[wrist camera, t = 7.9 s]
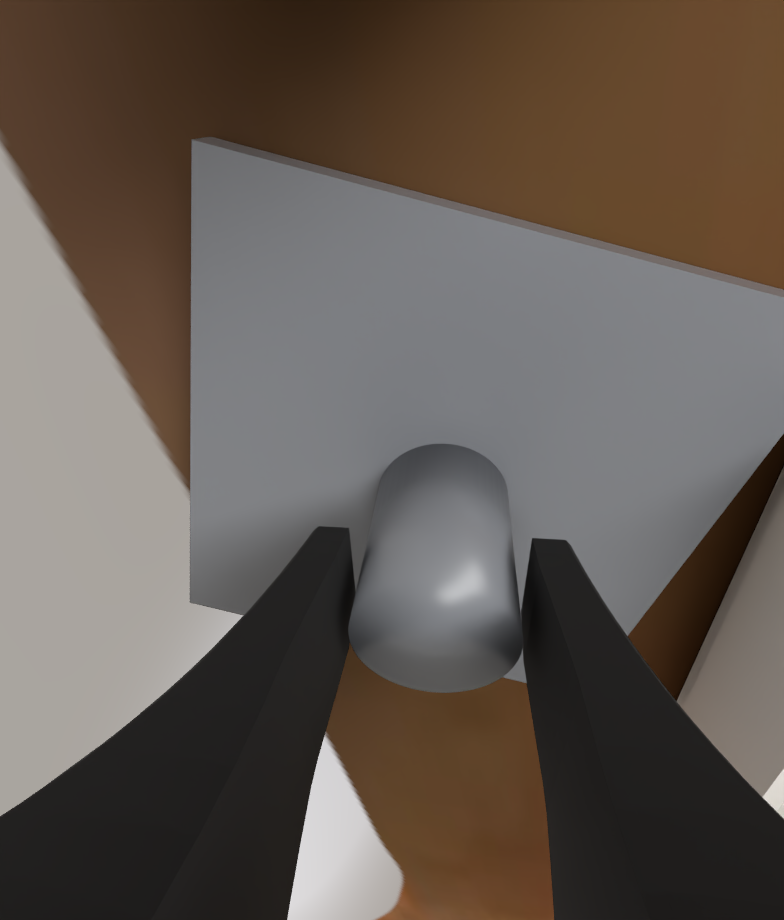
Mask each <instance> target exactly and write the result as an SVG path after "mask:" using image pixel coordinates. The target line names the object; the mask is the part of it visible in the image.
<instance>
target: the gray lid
mask: <svg viewBox="0 0 784 920" xmlns="http://www.w3.org/2000/svg"><path fill="white" fill-rule="evenodd" d="M783 434H784V290H783V289H779V288H775V287H771V286H768V285H764V284H760V283H756V282H753V281H749V280H745V279H741V278H738V277H734V276H730V275H726V274H723V273H719V272H715V271H711V270H708V269H704V268H700V267H697V266H693V265H689V264H685V263H682V262H678V261H674V260H670V259H667V258H663V257H659V256H655V255H652V254H648V253H644V252H640V251H637V250H633V249H629V248H625V247H622V246H618V245H614V244H610V243H607V242H603V241H599V240H595V239H592V238H588V237H584V236H581V235H577V234H573V233H569V232H566V231H562V230H558V229H554V228H551V227H547V226H543V225H539V224H536V223H532V222H528V221H524V220H521V219H517V218H513V217H509V216H506V215H502V214H498V213H494V212H491V211H487V210H483V209H479V208H476V207H472V206H468V205H465V204H461V203H457V202H453V201H450V200H446V199H442V198H438V197H435V196H431V195H427V194H423V193H420V192H416V191H412V190H408V189H405V188H401V187H397V186H393V185H390V184H386V183H382V182H378V181H375V180H371V179H367V178H364V177H360V176H356V175H352V174H349V173H345V172H341V171H337V170H334V169H330V168H326V167H322V166H319V165H315V164H311V163H307V162H304V161H300V160H296V159H292V158H289V157H285V156H281V155H277V154H274V153H270V152H266V151H262V150H259V149H255V148H251V147H248V146H244V145H240V144H236V143H233V142H229V141H225V140H221V139H218V138H214V137H205V138H199V139H192V177H191V435H190V602H191V603H195V604H199V605H203V606H207V607H211V608H215V609H219V610H224V611H228V612H232V613H236V614H240V615H245V614H246V613H247V611H248V610H249V609H250V608H251V607H252V606H253V605H254V604H255V602H256V601H257V600H258V599H259V598H260V597H261V595H262V594H263V593H264V592H265V591H266V590H267V588H268V587H269V586H270V585H271V584H272V583H273V581H274V580H275V579H276V578H277V577H278V575H279V574H280V573H281V572H282V571H283V569H284V568H285V567H286V566H287V564H288V563H289V562H290V561H291V559H292V558H293V557H294V556H295V554H296V553H297V552H298V550H299V549H300V548H301V546H302V545H303V544H304V543H305V541H306V540H307V539H308V537H309V536H310V535H311V533H312V532H313V531H314V530H315V529H316V528H317V527H318V526H325V527H343V528H349V532H350V542H351V552H352V561H353V571H354V581H355V590H356V593H355V598H354V602H353V607H352V611H351V616H350V620H349V626H348V635H349V640H350V643H351V646H352V648H353V650H354V651H355V653H356V655H357V656H358V657H359V659H360V660H361V661H362V662H363V663H364V664H365V665H366V666H367V667H368V668H370V669H371V670H372V671H374V672H375V673H376V674H378V675H380V676H381V677H383V678H385V679H387V680H389V681H391V682H393V683H396V684H399V685H401V686H404V687H408V688H412V689H416V690H421V691H428V692H441V693H448V692H461V691H468V690H473V689H477V688H480V687H483V686H486V685H488V684H491V683H493V682H495V681H496V680H498V679H500V678H502V677H503V678H508V679H512V680H516V681H520V682H524V683H527V681H526V675H525V668H524V661H523V632H522V622H521V608H522V602H523V595H524V588H525V582H526V575H527V568H528V562H529V555H530V549H531V542H532V538H542V539H560V540H566V541H567V542H568V543H569V544H570V545H571V546H572V548H573V550H574V552H575V554H576V556H577V558H578V559H579V561H580V563H581V565H582V566H583V568H584V570H585V572H586V573H587V575H588V577H589V578H590V580H591V582H592V583H593V585H594V586H595V588H596V590H597V591H598V593H599V594H600V596H601V598H602V599H603V601H604V602H605V604H606V605H607V607H608V609H609V610H610V612H611V613H612V615H613V616H614V617H615V619H616V620H617V622H618V623H619V625H620V626H621V628H622V629H623V631H624V632H625V634H626V635H627V636H628V635H629V634H630V632H631V631H632V630H633V628H634V627H635V626H636V624H637V623H638V622H639V621H640V619H641V618H642V617H643V615H644V614H645V613H646V611H647V610H648V609H649V608H650V606H651V605H652V604H653V602H654V601H655V600H656V599H657V597H658V596H659V595H660V593H661V592H662V591H663V589H664V588H665V587H666V586H667V584H668V583H669V582H670V580H671V579H672V578H673V576H674V575H675V574H676V573H677V571H678V570H679V569H680V567H681V566H682V565H683V563H684V562H685V561H686V560H687V558H688V557H689V556H690V554H691V553H692V552H693V551H694V549H695V548H696V547H697V545H698V544H699V543H700V541H701V540H702V539H703V538H704V536H705V535H706V534H707V532H708V531H709V530H710V528H711V527H712V526H713V525H714V523H715V522H716V521H717V519H718V518H719V517H720V515H721V514H722V513H723V512H724V510H725V509H726V508H727V506H728V505H729V504H730V503H731V501H732V500H733V499H734V497H735V496H736V495H737V493H738V492H739V491H740V490H741V488H742V487H743V486H744V484H745V483H746V482H747V480H748V479H749V478H750V477H751V475H752V474H753V473H754V471H755V470H756V469H757V468H758V466H759V465H760V464H761V462H762V461H763V460H764V458H765V457H766V456H767V455H768V453H769V452H770V451H771V449H772V448H773V447H774V445H775V444H776V443H777V442H778V440H779V439H780V438H781V436H782V435H783Z"/></svg>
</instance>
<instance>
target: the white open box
mask: <svg viewBox="0 0 784 920" xmlns="http://www.w3.org/2000/svg"><path fill="white" fill-rule="evenodd" d="M677 703H678V704H679V705H680V706H681V708H682V709H683V710H684V711H685V712H686V714H687V715H688V716H689V717H690V718H691V720H692V721H693V722H694V723H695V724H696V725H697V726H698V728H699V729H700V730H701V731H702V732H703V733H704V735H705V736H706V737H707V738H708V739H709V740H710V741H711V743H712V744H713V745H714V746H715V747H716V748H717V749H718V750H719V752H720V753H721V754H722V755H723V756H724V757H725V758H726V759H727V760H728V761H729V762H730V764H731V765H732V766H733V767H734V768H735V769H736V770H737V771H738V772H739V773H740V774H741V776H742V777H743V778H744V779H745V780H746V781H747V782H748V783H749V784H750V785H751V786H752V787H753V788H754V789H755V790H756V791H757V792H758V793H759V794H760V795H761V796H762V797H763V798H764V799H765V800H766V801H767V802H768V803H769V804H770V805H771V806H772V807H773V808H774V809H775V810H776V811H777V812H778V813H779V814H780V815H781V816H782V817H783V818H784V467H783V469H782V471H781V473H780V475H779V478H778V480H777V482H776V484H775V486H774V489H773V491H772V493H771V495H770V497H769V500H768V502H767V504H766V506H765V508H764V511H763V513H762V515H761V517H760V519H759V522H758V524H757V526H756V528H755V530H754V532H753V535H752V537H751V539H750V541H749V543H748V546H747V548H746V550H745V552H744V554H743V557H742V559H741V561H740V563H739V565H738V568H737V570H736V572H735V574H734V576H733V579H732V581H731V583H730V585H729V587H728V589H727V592H726V594H725V596H724V598H723V600H722V603H721V605H720V607H719V609H718V611H717V614H716V616H715V618H714V620H713V622H712V625H711V627H710V629H709V631H708V633H707V636H706V638H705V640H704V642H703V644H702V646H701V649H700V651H699V653H698V655H697V657H696V660H695V662H694V664H693V666H692V668H691V671H690V673H689V675H688V677H687V679H686V682H685V684H684V686H683V688H682V690H681V693H680V695H679V697H678V699H677Z"/></svg>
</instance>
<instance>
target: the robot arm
mask: <svg viewBox="0 0 784 920" xmlns="http://www.w3.org/2000/svg"><path fill="white" fill-rule="evenodd" d="M355 593H356V590H355V581H354V571H353V561H352V552H351V542H350V532H349V528H343V527H325V526H318V527H317V528H316V529H315V530H314V531H313V532H312V533H311V535H310V536H309V537H308V539H307V540H306V541H305V543H304V544H303V545H302V546H301V548H300V549H299V550H298V552H297V553H296V554H295V556H294V557H293V558H292V559H291V561H290V562H289V563H288V564H287V566H286V567H285V568H284V569H283V571H282V572H281V573H280V574H279V575H278V577H277V578H276V579H275V580H274V581H273V583H272V584H271V585H270V586H269V587H268V588H267V590H266V591H265V592H264V593H263V594H262V595H261V597H260V598H259V599H258V600H257V601H256V602H255V604H254V605H253V606H252V607H251V608H250V609H249V610H248V611H247V613H246V614H245V615H244V616H243V617H242V618H241V619H240V620H239V621H238V622H237V623H236V624H235V625H234V626H233V628H231V630H230V631H229V632H228V633H227V634H226V635H225V636H224V637H223V638H222V639H221V640H220V641H219V642H218V643H217V644H216V645H215V646H214V647H213V648H212V649H211V650H210V651H209V652H208V653H207V654H206V655H205V656H204V657H203V658H202V659H201V660H200V661H199V662H198V663H197V664H196V665H195V666H194V667H193V668H192V669H191V670H189V671H188V672H187V673H186V674H185V675H184V676H183V677H182V678H181V679H180V680H179V681H177V682H176V683H175V684H174V685H173V686H172V687H171V688H170V689H169V690H167V691H166V692H165V693H164V694H163V695H162V696H160V697H159V698H158V699H157V700H156V701H155V702H153V703H152V704H151V705H150V706H149V707H147V708H146V709H145V710H144V711H143V712H141V713H140V714H139V715H138V716H137V717H136V718H134V719H133V720H132V721H131V722H130V723H128V724H127V725H126V726H125V727H123V728H122V729H121V730H120V731H118V732H117V733H116V734H115V735H113V736H112V737H111V738H109V739H108V740H107V741H106V742H105V743H103V744H102V745H100V746H99V747H98V748H96V749H95V750H94V751H92V752H91V753H89V754H88V755H87V756H85V757H84V758H83V759H81V760H80V761H79V762H77V763H76V764H75V765H73V766H72V767H70V768H69V769H68V770H66V771H65V772H64V773H62V774H61V775H60V776H58V777H57V778H55V779H54V780H53V781H51V782H50V783H49V784H47V785H46V786H45V787H43V788H42V789H40V790H39V791H38V792H36V793H35V794H33V795H32V796H30V797H29V798H27V799H26V800H24V801H23V802H22V803H20V804H19V805H17V806H16V807H14V808H12V809H11V810H9V811H8V812H6V813H5V814H3V815H2V816H0V920H287V917H288V910H289V904H290V899H291V893H292V888H293V882H294V876H295V870H296V864H297V859H298V853H299V847H300V842H301V837H302V832H303V826H304V821H305V815H306V811H307V805H308V799H309V795H310V789H311V784H312V780H313V776H314V772H315V768H316V764H317V760H318V756H319V753H320V749H321V746H322V742H323V738H324V735H325V731H326V728H327V724H328V721H329V717H330V714H331V710H332V707H333V703H334V699H335V696H336V692H337V689H338V685H339V682H340V678H341V674H342V671H343V667H344V664H345V660H346V656H347V653H348V649H349V643H350V640H349V635H348V626H349V620H350V616H351V611H352V607H353V602H354V598H355ZM521 622H522V632H523V661H524V668H525V675H526V681H527V688H528V694H529V700H530V706H531V712H532V719H533V725H534V731H535V737H536V743H537V749H538V755H539V762H540V768H541V774H542V780H543V786H544V795H545V803H546V811H547V822H548V835H549V849H550V862H551V875H552V890H553V905H554V920H784V818H783V817H782V816H781V815H780V814H779V813H778V812H777V811H776V810H775V809H774V808H773V807H772V806H771V805H770V804H769V803H768V802H767V801H766V800H765V799H764V798H763V797H762V796H761V795H760V794H759V793H758V792H757V791H756V790H755V789H754V788H753V787H752V786H751V785H750V784H749V783H748V782H747V781H746V780H745V779H744V778H743V777H742V776H741V774H740V773H739V772H738V771H737V770H736V769H735V768H734V767H733V766H732V765H731V764H730V762H729V761H728V760H727V759H726V758H725V757H724V756H723V755H722V754H721V753H720V752H719V750H718V749H717V748H716V747H715V746H714V745H713V744H712V743H711V741H710V740H709V739H708V738H707V737H706V736H705V735H704V733H703V732H702V731H701V730H700V729H699V728H698V726H697V725H696V724H695V723H694V722H693V721H692V720H691V718H690V717H689V716H688V715H687V714H686V712H685V711H684V710H683V709H682V708H681V706H680V705H679V704H678V703H677V701H676V700H675V699H674V698H673V696H672V695H671V694H670V693H669V691H668V690H667V689H666V688H665V686H664V685H663V684H662V682H661V681H660V680H659V679H658V677H657V676H656V675H655V673H654V672H653V671H652V669H651V668H650V667H649V665H648V664H647V663H646V662H645V660H644V659H643V657H642V656H641V655H640V653H639V652H638V651H637V649H636V648H635V646H634V645H633V644H632V642H631V641H630V639H629V638H628V636H627V635H626V634H625V632H624V631H623V629H622V628H621V626H620V625H619V623H618V622H617V620H616V619H615V617H614V616H613V615H612V613H611V612H610V610H609V609H608V607H607V605H606V604H605V602H604V601H603V599H602V598H601V596H600V594H599V593H598V591H597V590H596V588H595V586H594V585H593V583H592V582H591V580H590V578H589V577H588V575H587V573H586V572H585V570H584V568H583V566H582V565H581V563H580V561H579V559H578V558H577V556H576V554H575V552H574V550H573V548H572V546H571V545H570V544H569V543H568V542H567V541H566V540H560V539H542V538H532V542H531V549H530V555H529V562H528V568H527V575H526V582H525V588H524V595H523V602H522V608H521Z"/></svg>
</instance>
